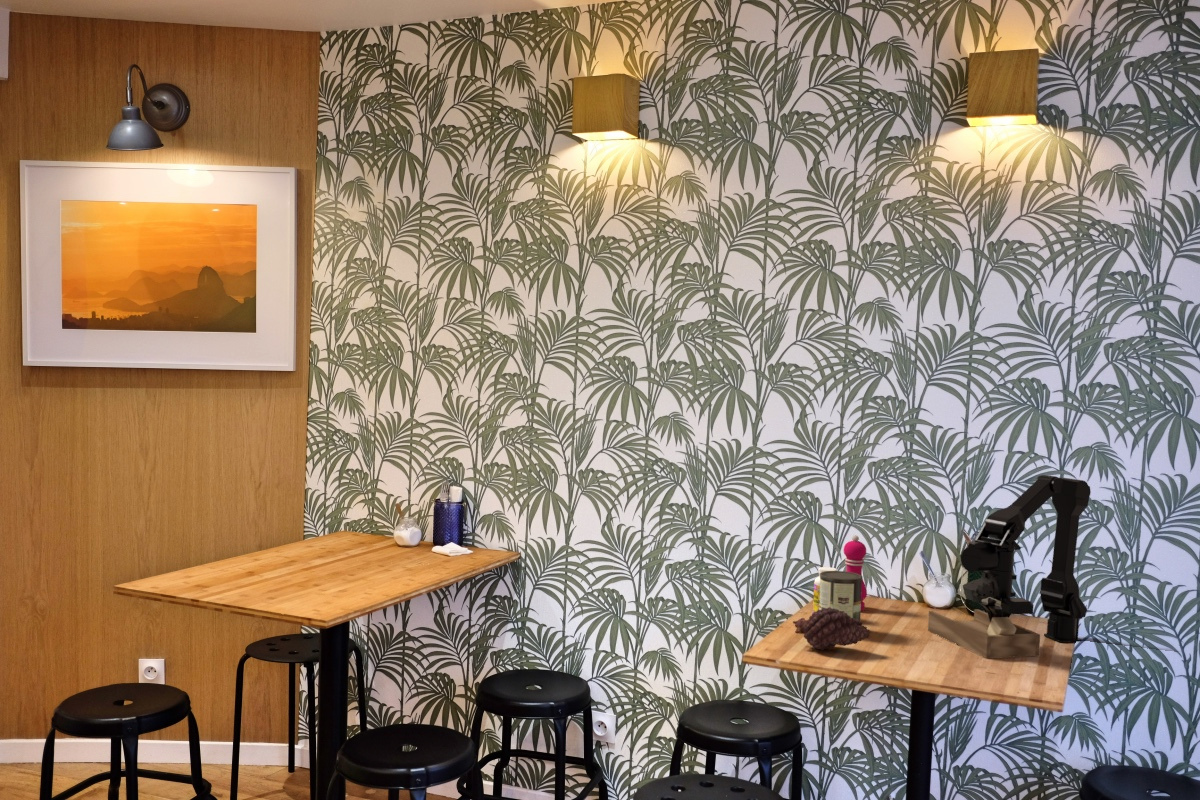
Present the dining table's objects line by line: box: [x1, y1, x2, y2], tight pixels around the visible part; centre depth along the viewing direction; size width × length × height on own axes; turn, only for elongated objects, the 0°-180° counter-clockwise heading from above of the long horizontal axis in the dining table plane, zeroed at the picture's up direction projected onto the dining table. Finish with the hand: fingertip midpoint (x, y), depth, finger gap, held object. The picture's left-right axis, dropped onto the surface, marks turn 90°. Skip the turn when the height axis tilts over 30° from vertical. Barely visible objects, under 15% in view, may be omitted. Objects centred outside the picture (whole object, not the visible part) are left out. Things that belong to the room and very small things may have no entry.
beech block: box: [987, 617, 1016, 635], centre depth 245 cm, size 4×4×4 cm
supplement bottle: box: [812, 566, 838, 614], centre depth 274 cm, size 7×7×13 cm
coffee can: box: [819, 570, 863, 621], centre depth 260 cm, size 10×10×14 cm
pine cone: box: [792, 607, 871, 652], centre depth 243 cm, size 18×10×10 cm, turn 72°
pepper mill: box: [843, 534, 868, 612], centre depth 284 cm, size 7×7×20 cm
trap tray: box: [927, 608, 1041, 659], centre depth 254 cm, size 14×24×5 cm, turn 15°
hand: (995, 634), depth 248 cm, fingers closed
